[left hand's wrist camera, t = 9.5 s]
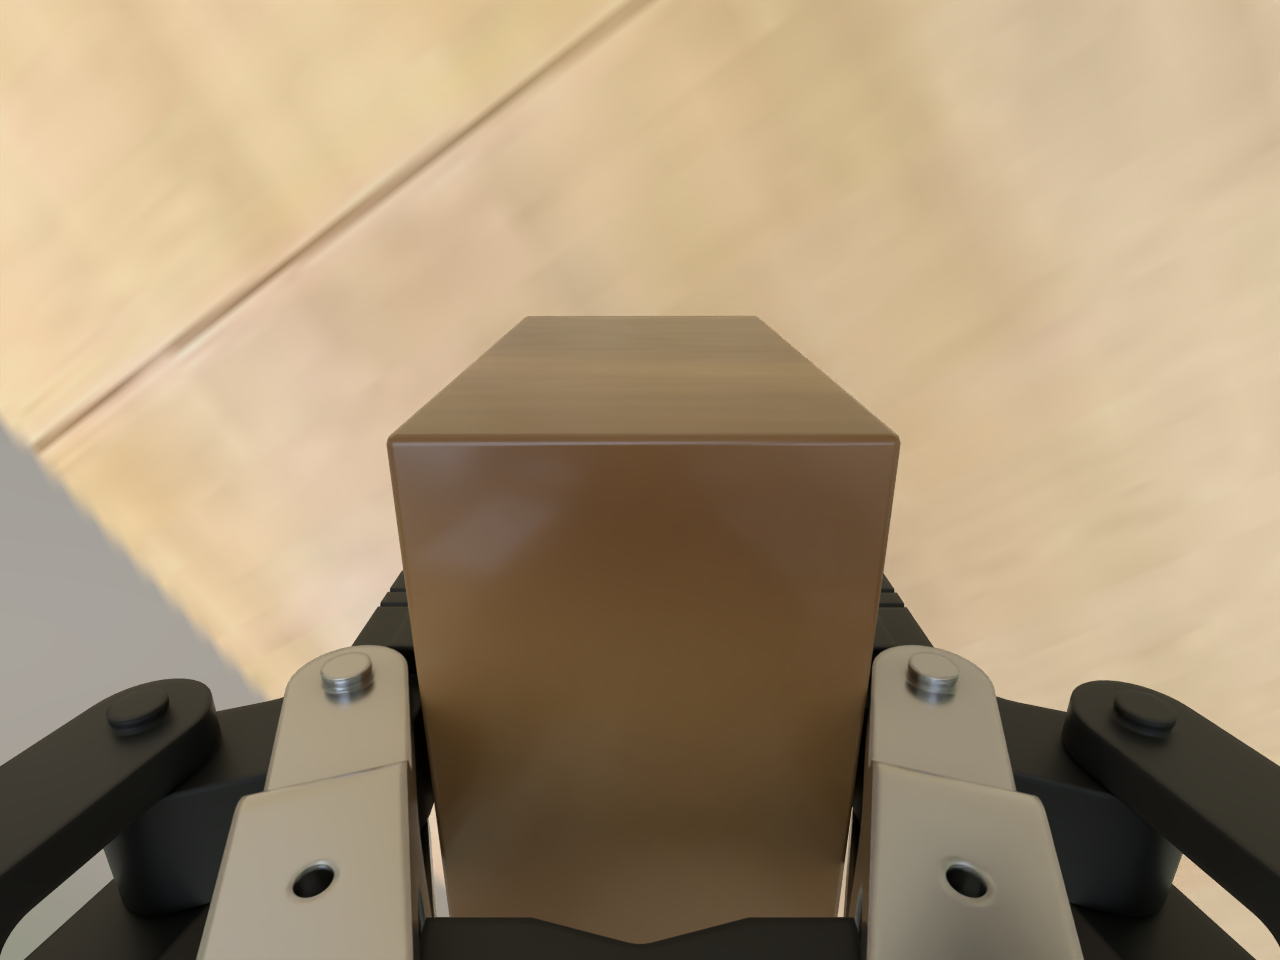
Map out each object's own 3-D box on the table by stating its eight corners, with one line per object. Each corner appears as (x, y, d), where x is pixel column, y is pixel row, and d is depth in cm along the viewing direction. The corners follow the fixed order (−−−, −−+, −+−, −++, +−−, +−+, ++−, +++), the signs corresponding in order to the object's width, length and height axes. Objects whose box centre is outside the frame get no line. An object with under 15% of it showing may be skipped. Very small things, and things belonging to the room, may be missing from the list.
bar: (524, 315, 14) (381, 437, 6) (758, 315, 14) (905, 435, 6) (567, 1056, 22) (527, 1514, 14) (717, 1056, 22) (759, 1514, 14)
